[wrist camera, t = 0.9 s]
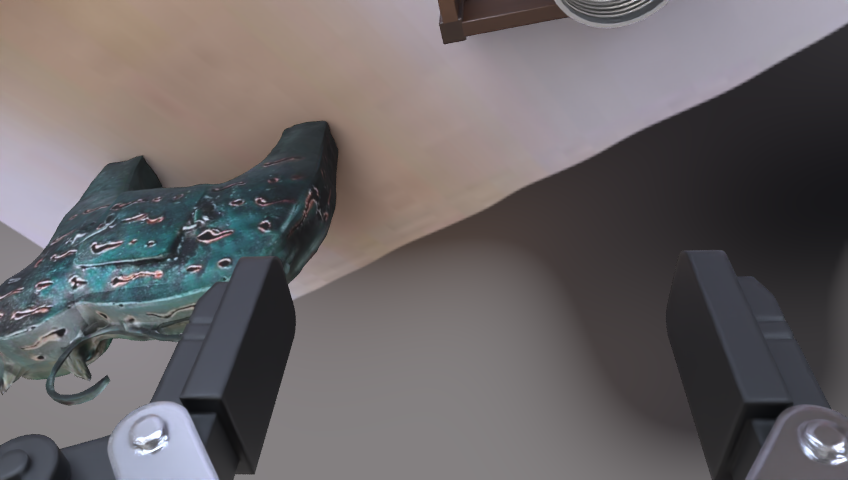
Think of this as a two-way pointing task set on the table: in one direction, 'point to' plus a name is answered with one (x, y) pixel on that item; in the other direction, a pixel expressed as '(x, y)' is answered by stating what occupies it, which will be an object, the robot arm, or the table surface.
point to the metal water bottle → (610, 11)
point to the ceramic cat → (158, 256)
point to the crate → (491, 16)
